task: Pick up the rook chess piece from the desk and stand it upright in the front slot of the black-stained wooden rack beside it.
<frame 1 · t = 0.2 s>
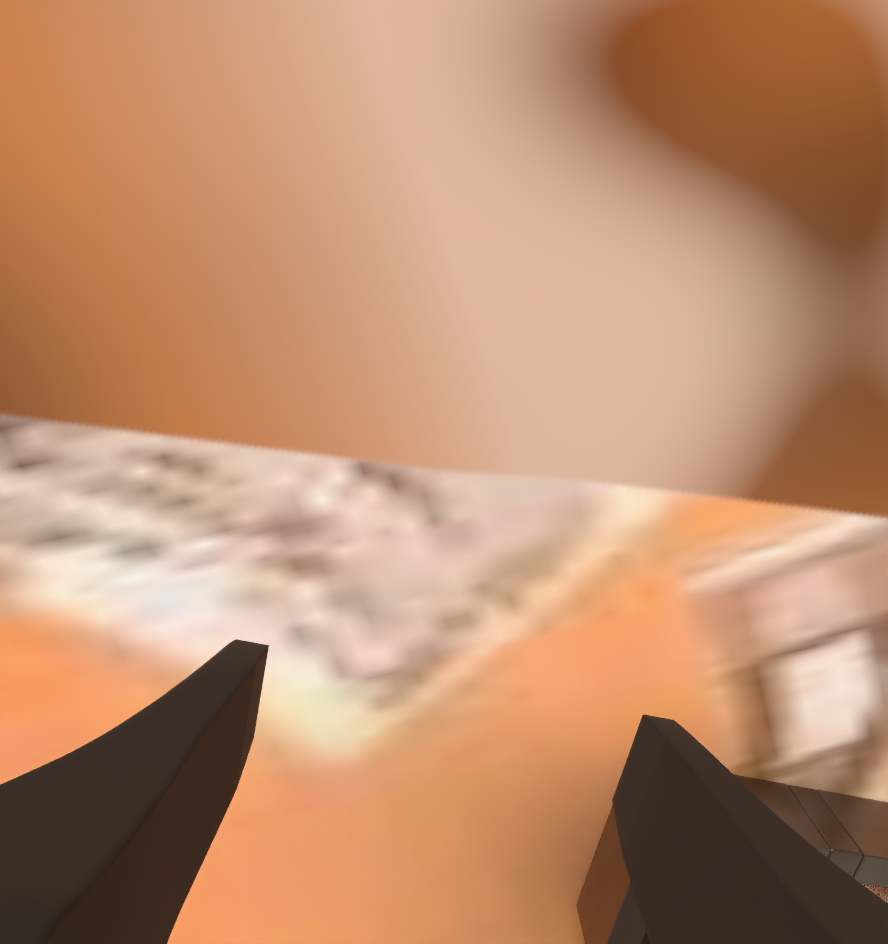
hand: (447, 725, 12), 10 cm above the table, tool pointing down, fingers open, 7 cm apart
rack: (767, 861, 26), on the table
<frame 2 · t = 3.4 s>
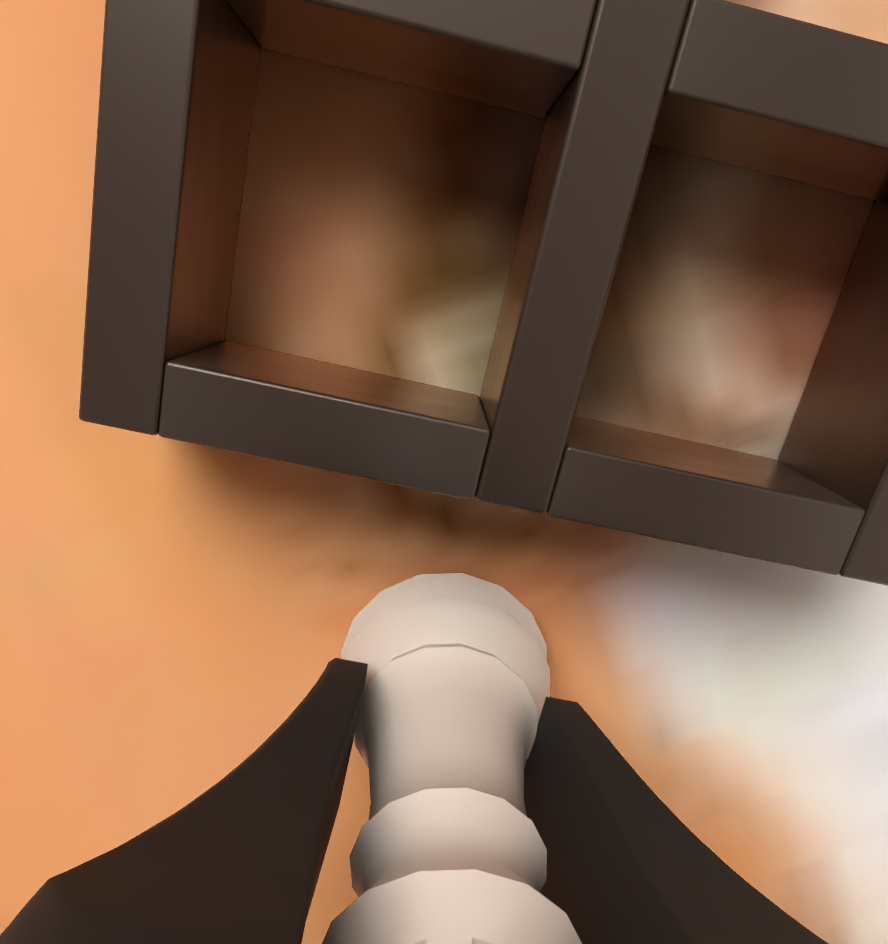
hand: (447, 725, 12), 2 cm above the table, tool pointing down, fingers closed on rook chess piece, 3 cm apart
rook chess piece: (444, 649, 15), on the table, touching gripper
rack: (541, 272, 12), on the table
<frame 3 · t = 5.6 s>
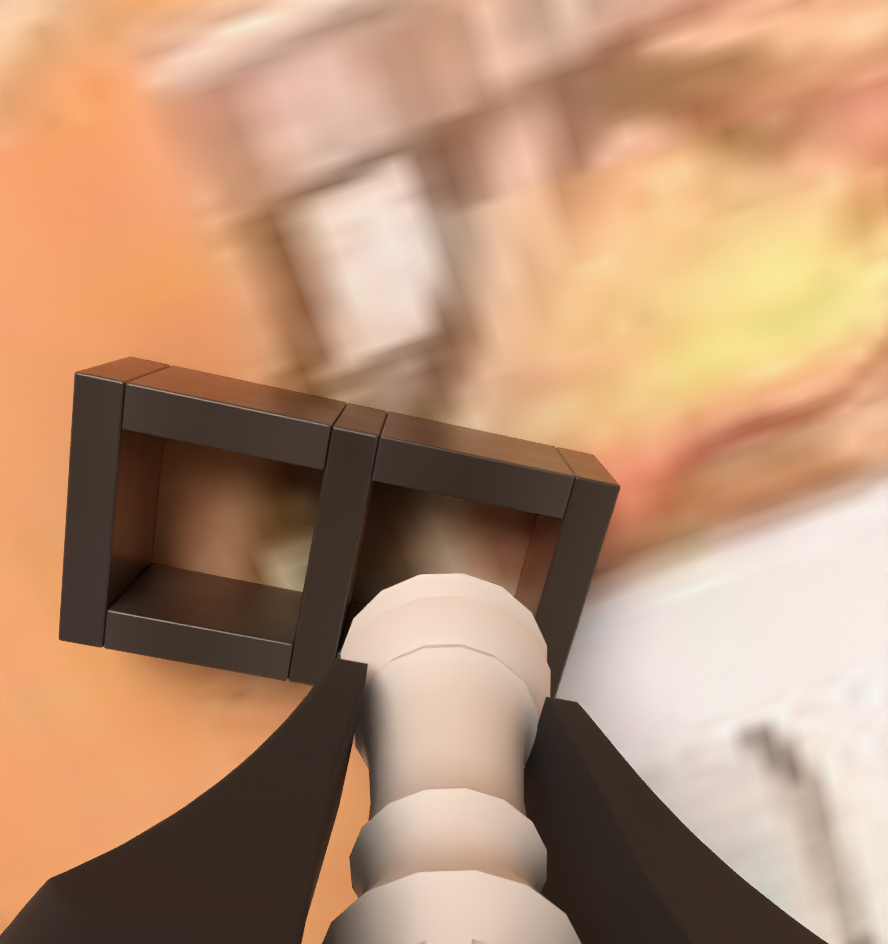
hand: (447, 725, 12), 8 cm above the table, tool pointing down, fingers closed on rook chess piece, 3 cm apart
rook chess piece: (444, 649, 15), point 6 cm above the table, touching gripper
rack: (345, 524, 20), on the table
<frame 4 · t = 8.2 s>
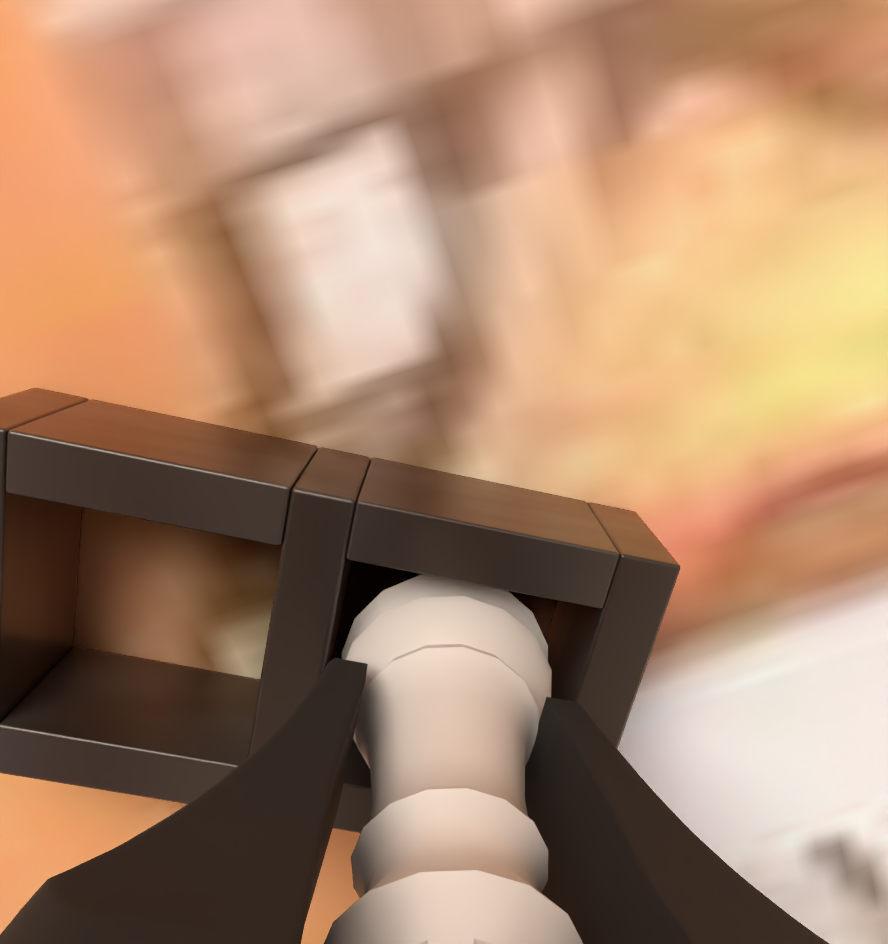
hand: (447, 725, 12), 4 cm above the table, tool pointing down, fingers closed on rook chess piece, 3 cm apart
rook chess piece: (445, 649, 15), point 1 cm above the table, touching gripper
rack: (318, 597, 16), on the table
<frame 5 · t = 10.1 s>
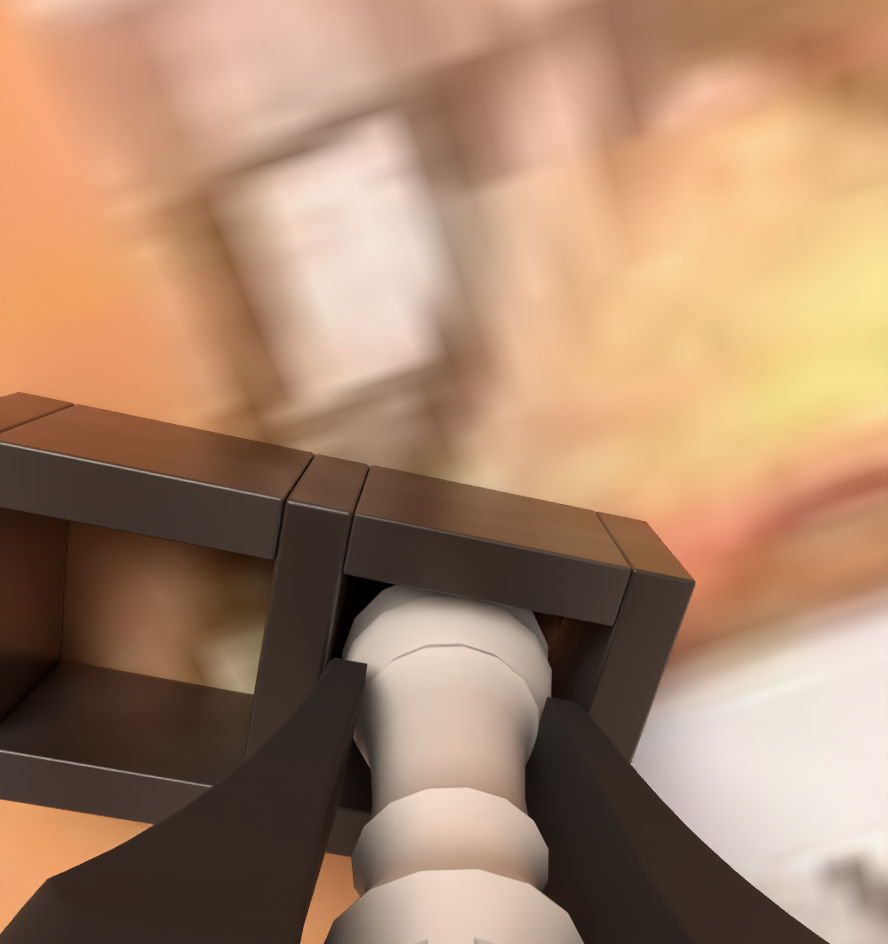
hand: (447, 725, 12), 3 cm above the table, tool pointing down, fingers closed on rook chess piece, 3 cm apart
rook chess piece: (445, 649, 15), point 1 cm above the table, touching gripper
rack: (315, 610, 15), on the table
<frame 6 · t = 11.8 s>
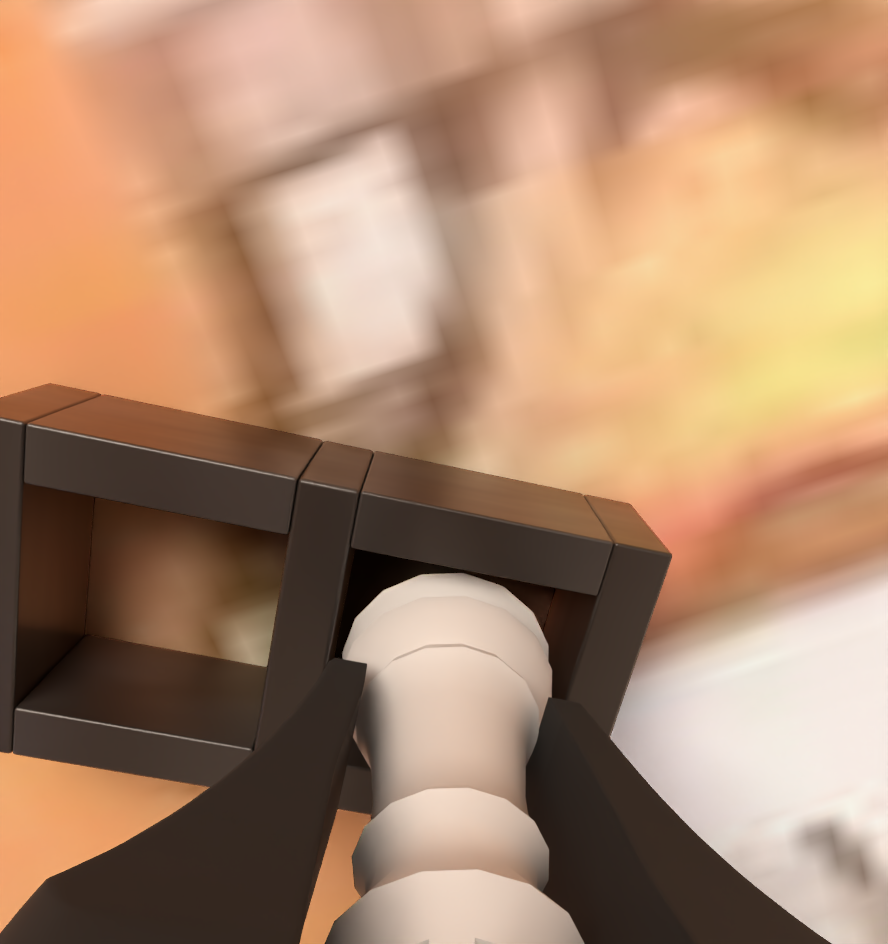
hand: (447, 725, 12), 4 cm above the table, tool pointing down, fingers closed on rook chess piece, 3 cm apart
rook chess piece: (445, 649, 15), point 2 cm above the table, touching gripper
rack: (323, 587, 16), on the table
when the fingers open (4 cm above the table, at t = 13.1 s): rook chess piece drops 2 cm, resting in rack.
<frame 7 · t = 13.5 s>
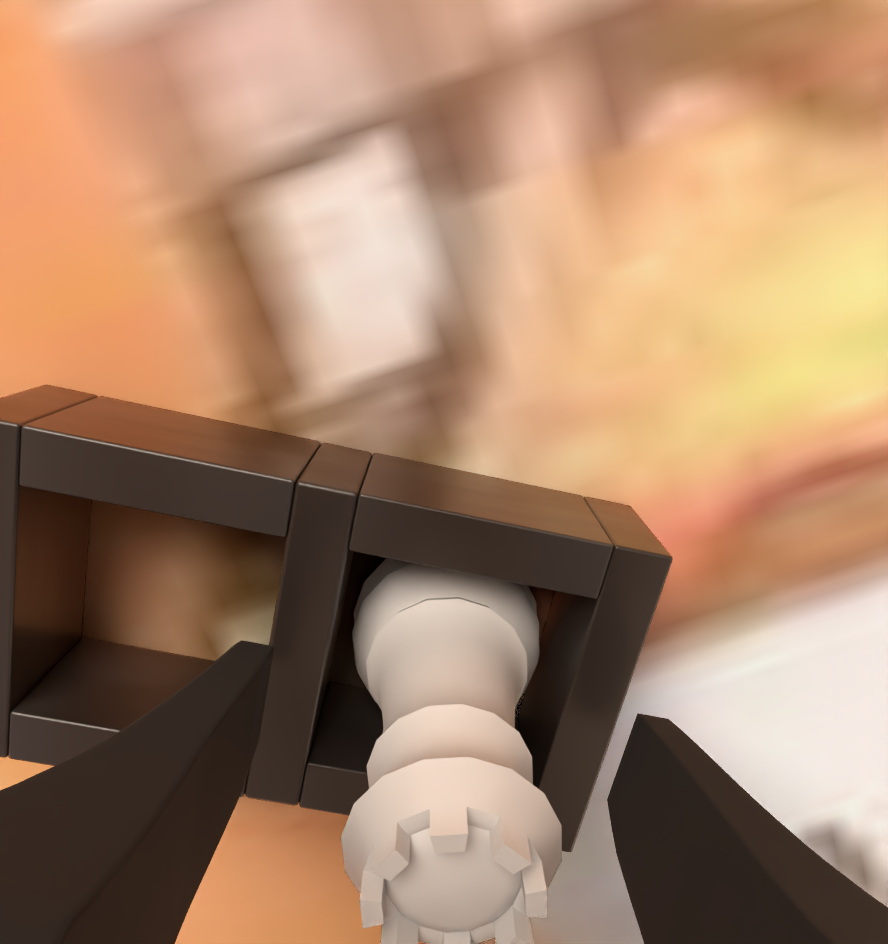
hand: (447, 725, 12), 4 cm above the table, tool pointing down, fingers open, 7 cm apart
rook chess piece: (445, 610, 17), resting in rack
rack: (321, 589, 16), on the table
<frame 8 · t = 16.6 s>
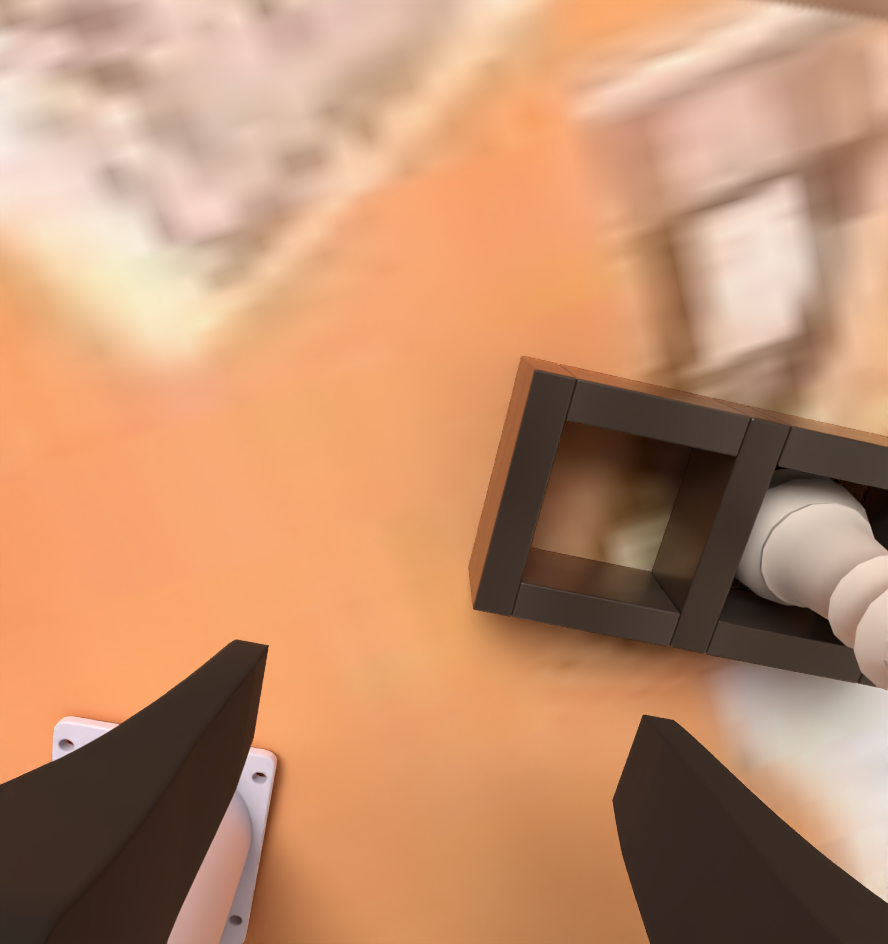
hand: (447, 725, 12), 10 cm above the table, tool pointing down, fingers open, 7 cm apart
rook chess piece: (775, 524, 23), resting in rack
rack: (690, 507, 22), on the table
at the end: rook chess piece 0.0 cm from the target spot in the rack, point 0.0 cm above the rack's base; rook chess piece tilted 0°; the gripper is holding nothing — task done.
